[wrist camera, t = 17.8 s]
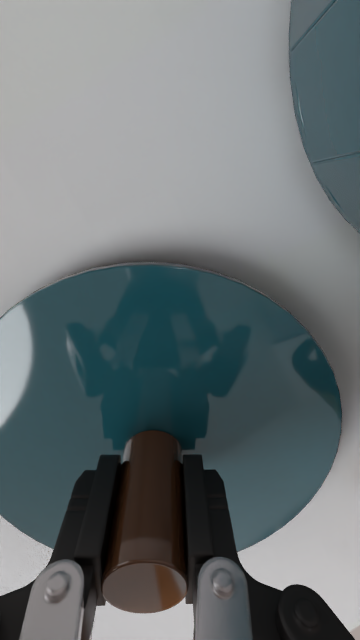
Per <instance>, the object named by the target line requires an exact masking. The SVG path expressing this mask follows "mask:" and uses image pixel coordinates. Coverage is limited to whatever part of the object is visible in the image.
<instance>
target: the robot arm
mask: <svg viewBox="0 0 360 640" xmlns="http://www.w3.org/2000/svg"><path fill="white" fill-rule="evenodd" d="M182 468H183V489H184V510H185V530H186V551H187V572H188V577H189V588H188V591H187V594H186V596H185V599H186V604H193V613H194V633H193V640H355V639H354V638H353V636H352V635H351V634H350V633H349V631H348V630H347V629H346V628H345V626H344V625H343V624H342V623H341V621H340V620H339V619H338V618H337V616H336V615H335V614H334V613H333V611H332V610H331V609H330V607H329V606H328V605H327V604H326V602H325V601H324V600H323V599H322V598H321V597H320V596H319V595H318V594H317V593H316V592H315V591H313V590H312V589H310V588H308V587H306V586H303V585H298V584H296V585H290V586H288V587H286V588H285V589H284V590H283V591H281V590H278V589H275V588H273V587H270V586H267V585H265V584H262V583H260V582H258V581H256V580H255V579H253V578H252V577H251V576H250V575H249V574H248V573H247V572H246V571H245V569H244V568H243V567H242V565H241V563H240V561H239V558H238V555H237V550H236V545H235V539H234V534H233V529H232V523H231V518H230V513H229V509H228V502H227V498H226V492H225V486H224V481H223V480H222V478H221V477H220V475H219V474H218V472H217V470H216V469H209V470H204V467H203V459H202V455H201V454H184V455H183V460H182ZM120 470H121V456H120V455H100V457H99V461H98V465H97V469H96V470H85V471H84V472H83V473H82V474H81V476H80V477H79V478H78V479H77V481H76V482H75V485H74V488H73V491H72V494H71V499H70V500H69V504H68V507H67V511H66V513H65V516H64V519H63V522H62V525H61V528H60V531H59V535H58V538H57V541H56V544H55V547H54V550H53V553H52V556H51V559H50V561H49V563H48V565H47V566H46V568H45V569H44V570H43V571H42V572H41V573H40V574H39V575H38V577H37V578H36V579H35V580H34V581H32V582H31V583H30V584H28V585H26V586H25V587H23V588H20V589H18V590H15V591H13V592H10V593H7V594H5V595H2V596H0V640H91V639H92V627H93V622H94V616H95V610H96V606H102V605H105V603H106V599H105V598H104V597H103V595H102V592H101V587H100V583H101V578H102V572H103V567H104V561H105V555H106V550H107V544H108V538H109V532H110V527H111V521H112V515H113V510H114V504H115V498H116V492H117V487H118V481H119V475H120Z"/></svg>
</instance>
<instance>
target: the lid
mask: <svg viewBox="0 0 360 640" xmlns="http://www.w3.org/2000/svg"><path fill="white" fill-rule="evenodd" d="M341 425H342V409H341V401H340V393H339V389H338V386H337V382H336V379H335V376H334V373H333V370H332V368H331V366H330V364H329V362H328V360H327V358H326V356H325V354H324V352H323V350H322V349H321V348H320V346H319V345H318V344H317V342H316V341H315V340H314V338H313V337H312V335H311V334H310V333H309V331H308V330H307V329H306V328H305V327H304V326H303V325H302V324H301V323H300V322H299V321H298V320H297V319H296V318H295V317H294V316H293V315H292V314H291V313H290V312H288V311H287V310H286V309H285V308H284V307H282V306H281V305H280V304H278V303H277V302H276V301H274V300H273V299H271V298H270V297H269V296H267V295H266V294H264V293H262V292H261V291H259V290H257V289H255V288H253V287H251V286H249V285H247V284H246V283H244V282H242V281H240V280H237V279H234V278H231V277H229V276H226V275H223V274H220V273H218V272H215V271H212V270H207V269H203V268H198V267H194V266H189V265H185V264H175V263H163V262H132V263H119V264H113V265H107V266H102V267H96V268H91V269H88V270H85V271H82V272H78V273H75V274H72V275H69V276H66V277H63V278H61V279H59V280H57V281H55V282H53V283H51V284H48V285H46V286H44V287H42V288H40V289H38V290H36V291H35V292H33V293H32V294H31V295H29V296H28V297H26V298H25V299H23V300H22V301H20V302H19V303H17V304H16V305H14V306H13V307H12V308H10V309H9V310H8V311H7V312H6V313H5V314H4V315H3V316H1V317H0V515H1V516H2V517H3V518H4V519H6V520H7V521H8V522H9V523H11V524H12V525H13V526H15V527H16V528H17V529H18V530H20V531H21V532H23V533H25V534H26V535H28V536H29V537H31V538H33V539H34V540H36V541H38V542H40V543H42V544H44V545H46V546H48V547H50V548H52V549H54V547H55V544H56V541H57V538H58V535H59V531H60V528H61V525H62V522H63V519H64V516H65V513H66V511H67V507H68V504H69V500H70V499H71V494H72V491H73V488H74V485H75V482H76V481H77V479H78V478H79V477H80V476H81V474H82V473H83V472H84V471H85V470H96V469H97V465H98V461H99V457H100V455H120V456H121V470H120V475H119V481H118V487H117V492H116V498H115V504H114V510H113V515H112V521H111V527H110V532H109V538H108V544H107V550H106V555H105V561H104V567H103V572H102V578H101V583H100V587H101V592H102V595H103V597H104V598H105V599H106V601H107V602H109V603H110V604H111V605H113V606H114V607H116V608H118V609H121V610H124V611H128V612H133V613H155V612H160V611H163V610H167V609H169V608H171V607H173V606H175V605H177V604H178V603H179V602H181V601H182V600H183V599H184V597H185V596H186V594H187V591H188V588H189V577H188V572H187V551H186V530H185V510H184V489H183V468H182V460H183V455H184V454H201V455H202V459H203V467H204V470H209V469H216V470H217V472H218V474H219V475H220V477H221V478H222V480H223V481H224V486H225V492H226V498H227V502H228V509H229V513H230V518H231V523H232V529H233V534H234V539H235V545H236V550H237V552H239V551H241V550H243V549H246V548H248V547H250V546H252V545H254V544H256V543H258V542H260V541H262V540H263V539H265V538H267V537H269V536H270V535H272V534H273V533H274V532H276V531H277V530H279V529H280V528H282V527H283V526H284V525H286V524H287V523H288V522H289V521H290V520H292V519H293V518H294V517H295V516H296V515H298V513H299V512H300V511H301V510H302V509H303V508H304V507H305V506H306V505H307V504H308V503H309V502H310V501H311V499H312V498H313V497H314V495H315V494H316V493H317V491H318V490H319V489H320V487H321V486H322V484H323V482H324V480H325V479H326V477H327V475H328V473H329V471H330V469H331V467H332V464H333V462H334V459H335V456H336V453H337V450H338V446H339V441H340V436H341Z"/></svg>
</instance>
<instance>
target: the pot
mask: <svg viewBox="0 0 360 640" xmlns="http://www.w3.org/2000/svg"><path fill="white" fill-rule="evenodd" d="M289 58H290V81H291V88H292V95H293V103H294V110H295V116H296V120H297V123H298V127H299V131H300V135H301V139H302V142H303V146H304V149H305V152H306V154H307V156H308V159H309V161H310V164H311V166H312V169H313V171H314V173H315V176H316V178H317V179H318V181H319V183H320V184H321V186H322V188H323V190H324V191H325V193H326V195H327V196H328V198H329V200H330V201H331V202H332V204H333V205H334V206H335V207H336V208H337V210H338V211H339V212H340V213H341V215H342V216H343V217H344V218H345V219H346V221H347V222H348V223H350V224H351V225H352V226H353V227H354V228H355V229H356V230H357V231H358V233H360V0H292V2H291V15H290V28H289Z"/></svg>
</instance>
